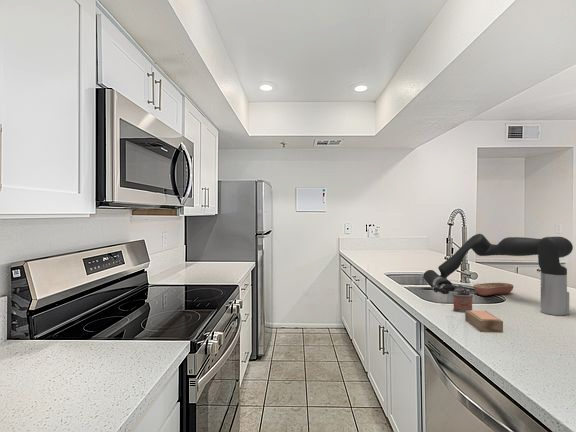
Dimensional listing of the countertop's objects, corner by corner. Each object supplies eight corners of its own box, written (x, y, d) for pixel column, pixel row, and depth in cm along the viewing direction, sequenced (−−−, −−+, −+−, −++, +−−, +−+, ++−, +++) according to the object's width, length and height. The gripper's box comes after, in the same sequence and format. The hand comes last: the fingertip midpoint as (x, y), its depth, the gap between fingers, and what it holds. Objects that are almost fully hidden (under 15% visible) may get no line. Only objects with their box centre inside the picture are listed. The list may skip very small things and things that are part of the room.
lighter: (470, 310, 160) (470, 288, 160) (473, 312, 157) (473, 289, 156) (452, 310, 161) (452, 288, 161) (454, 312, 157) (454, 289, 157)
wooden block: (485, 320, 145) (485, 309, 145) (503, 332, 131) (503, 320, 131) (465, 319, 146) (465, 309, 146) (480, 331, 132) (480, 320, 132)
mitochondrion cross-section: (483, 298, 182) (483, 288, 182) (468, 294, 191) (468, 284, 191) (517, 294, 189) (517, 285, 189) (501, 290, 198) (501, 281, 198)
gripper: (456, 292, 185) (469, 300, 169) (428, 292, 186) (438, 299, 170) (456, 278, 185) (469, 284, 168) (428, 277, 186) (438, 284, 170)
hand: (453, 292), depth 169 cm, fingers open, 8 cm apart
